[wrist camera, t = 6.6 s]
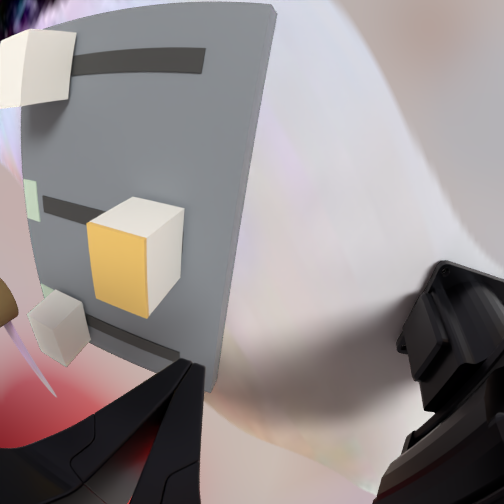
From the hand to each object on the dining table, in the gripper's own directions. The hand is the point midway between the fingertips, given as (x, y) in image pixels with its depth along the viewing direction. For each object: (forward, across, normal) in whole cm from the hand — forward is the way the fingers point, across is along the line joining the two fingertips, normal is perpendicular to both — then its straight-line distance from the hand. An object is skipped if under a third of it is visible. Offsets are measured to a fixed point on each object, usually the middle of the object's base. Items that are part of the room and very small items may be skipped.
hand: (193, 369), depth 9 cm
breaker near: (+7, +13, -9) cm, 17 cm away
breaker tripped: (+7, +5, 0) cm, 9 cm away
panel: (+9, +9, 0) cm, 13 cm away
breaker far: (+7, +13, +9) cm, 17 cm away
